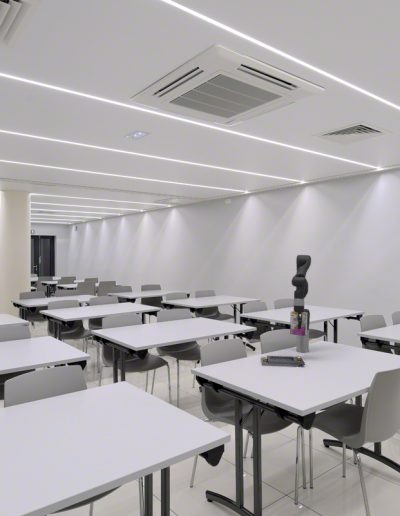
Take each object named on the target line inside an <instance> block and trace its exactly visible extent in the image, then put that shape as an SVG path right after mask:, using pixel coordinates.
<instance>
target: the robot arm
mask: <svg viewBox="0 0 400 516" xmlns="http://www.w3.org/2000/svg"><path fill="white" fill-rule="evenodd" d="M295 260H296V261H295V264H296V273H295V274H294V276H293V277H292V279H291V285H292V286H293V287H295V290H294V292H293V311H295V312H298V316H297V321H298V329H301V324H302V315H301V312H307V335H306V336H302V335H296V352H299V353H309V352H308V351H309V349H310V348H309V346H310V344H309V343H310V342H309V341H310V318H311V312H310V310H309V309H308V308H305V298H306V297H307V295H308V293H309V281H308V280H307V278H306V276H307V273H308V271H309V269H310V267H311V266H312V265H311V264H312V257H311V255H308V254H298V255H297V256H296V258H295ZM299 320H300V321H299Z"/></svg>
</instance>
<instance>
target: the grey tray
mask: <svg viewBox="0 0 400 516" xmlns="http://www.w3.org/2000/svg"><path fill="white" fill-rule="evenodd" d="M260 361H261V365H262V367H263V366H267V367H270V366H271V367H289V368H290V367H292V368H293V367H294V368H299V366H303V365H304V366H305V361H304V360H303V358H302V356H300V355H296V356H292V355H291V356H288V355H287V356H286V355H284V356H283V355H266V356H263V357H260Z"/></svg>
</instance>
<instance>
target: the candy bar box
mask: <svg viewBox="0 0 400 516" xmlns="http://www.w3.org/2000/svg"><path fill="white" fill-rule="evenodd" d="M301 315H302V324H301V329H298V321H297V316H298V312H295V311H294V310H292V311H290V322H289V323H290V325H289V326H290V327H289V331H290V332H289V333H290V335H295V336H297V335H302V336H306V335H307V312H301ZM299 321H300V320H299Z"/></svg>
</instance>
